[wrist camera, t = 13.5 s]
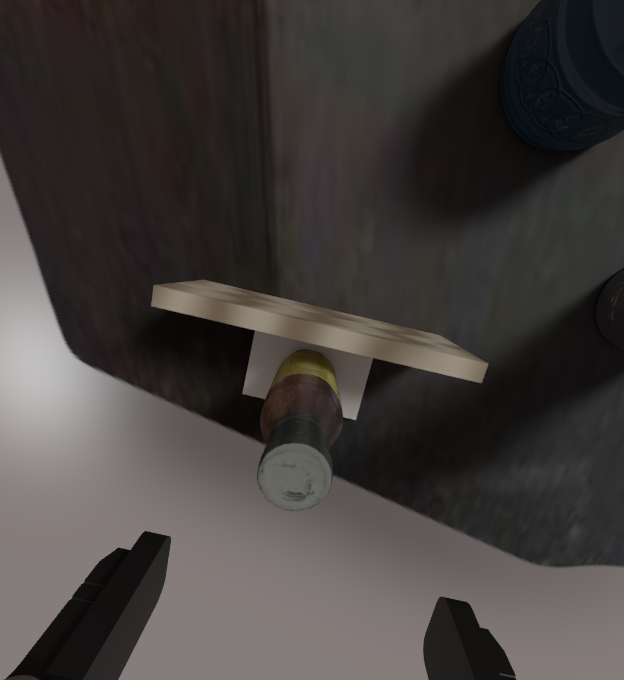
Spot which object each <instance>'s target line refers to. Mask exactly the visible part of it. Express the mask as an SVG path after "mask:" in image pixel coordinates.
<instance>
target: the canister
mask: <svg viewBox="0 0 624 680" xmlns="http://www.w3.org/2000/svg"><path fill="white" fill-rule="evenodd" d="M500 98H501V104H502V108H503V111H504V114H505V117H506V119H507V121H508V123H509V124H510V126H511V127H512V129H513V130H514V131H515V133H516V134H517V135H518V136H519V137H520V138H521V139H523V140H524V141H525V142H527V143H528V144H530V145H532V146H534V147H536V148H539V149H542V150H545V151H551V152H566V151H572V150H579V149H584V148H588V147H591V146H594V145H596V144H599V143H601V142H603V141H606V140H608V139H610V138H612V137H613V136H615V135H617V134H618V133H620V132H621V131H623V130H624V0H541V1H540V2H539V3H538V4H537V5H536V6H535V8H534V9H533V10H532V11H531V13H530V14H529V15H528V16H527V18H526V19H525V20H524V22H523V23H522V24H521V26H520V28H519V29H518V31H517V33H516V35H515V37H514V39H513V41H512V43H511V45H510V47H509V49H508V51H507V54H506V56H505V59H504V63H503V66H502V71H501V77H500Z"/></svg>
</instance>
